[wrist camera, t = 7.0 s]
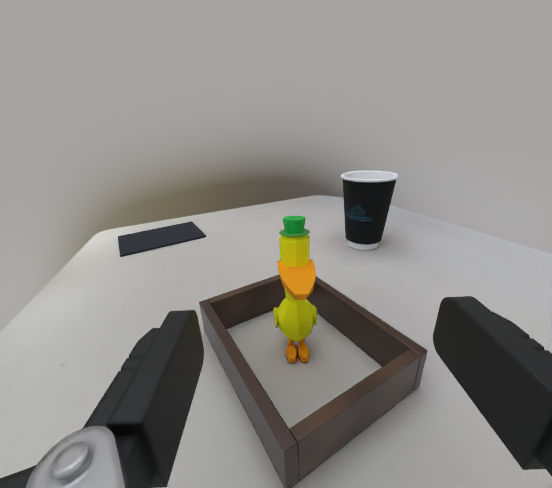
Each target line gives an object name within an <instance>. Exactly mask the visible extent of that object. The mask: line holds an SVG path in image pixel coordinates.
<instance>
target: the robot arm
mask: <svg viewBox="0 0 552 488" xmlns="http://www.w3.org/2000/svg"><path fill="white" fill-rule="evenodd" d="M433 342H434V346H435V349H436V352H437V353H438V355H439V356H440V358H441V359H442V361H443V362H444V363H445V365H446V366H447V367H448V369H449V370H450V371H451V373H452V374H453V375H454V377H455V378H456V379H457V381H458V382H459V384H460V385H461V386H462V388H463V389H464V390H465V392H466V393H467V394H468V396H469V397H470V398H471V400H472V401H473V403H474V404H475V405H476V407H477V408H478V409H479V411H480V412H481V413H482V415H483V416H484V417H485V419H486V420H487V422H488V423H489V424H490V426H491V427H492V428H493V430H494V431H495V432H496V434H497V435H498V436H499V438H500V439H501V441H502V442H503V443H504V445H505V446H506V447H507V449H508V450H509V451H510V453H511V454H512V455H513V457H514V458H515V459H516V461H517V462H518V464H519V465H520V466H521V468H522V469H523V470H528V469H546V470H547V471H548V472H549V473H550V475H551V476H552V353H550V352H549V351H548V350H546V351H545V350H544V347H543V346H542V345H540V344H539V343H538V342H537V341H535V340H534V339H530V337H529V335H528V334H527V333H525V332H524V331H523V330H522V329H520V328H519V327H518V326H517V325H515V324H514V323H513V322H511V321H509V320H507V319H505V318H503V317H502V316H500V315H498V314H496V313H494V312H491V311H490V310H489V309H488V308H486V307H485V306H484V305H483V304H482V303H480V302H479V301H478V300H477V299H475V298H474V297H471V296H465V297H446V298H444V299H443V300H442V301H441V304H440V308H439V312H438V317H437V321H436V325H435V329H434V333H433ZM203 359H204V347H203V342H202V337H201V332H200V327H199V322H198V317H197V313H196V311H195V310H185V311H170V312H169V313H168V315H167V316H166V318H165V320H164V322H163V324H162V325H161V327H160V328H152V329H151V330H150V331H149V332H148V333H147V334H146V335H144V336H143V337H142V338H141V339H140V340H139V341H138V342H137V344H136V345H135V347H134V348H133V350H132V351H131V353H130V355H129V358H127V359H126V361H125V363H124V364H123V366H122V367H121V371H119V372H118V374H117V375H116V377H115V378H114V380H113V381H112V383H111V385H110V386H109V388H108V389H107V391H106V393H105V394H104V396H103V397H102V399H101V400H100V402H99V404H98V405H97V407H96V408H95V410H94V411H93V413H92V415H91V416H90V418H89V419H88V421H87V422H86V424H85V425H84V427H83V428H82V429H80V430H78V431H76V432H74V433H72V434H70V435H69V436H67V437H65V438H64V439H62V440H61V441H60V442H58V443H57V444H56V445H55V446H54V447H52V448H51V449H50V450H49V451H48V452H47V453H46V454H45V455H44V456H43V458H42V459H41V460H40V461H39V463H38V464H37V465H35V466H33V467H31V468H28V469H25V470H23V471H20V472H17V473H14V474H11V475H9V476H6V477H3V478H0V488H157V487H167V484H168V481H169V477H170V474H171V471H172V467H173V464H174V460H175V457H176V454H177V450H178V447H179V444H180V440H181V437H182V433H183V430H184V427H185V423H186V420H187V416H188V413H189V410H190V406H191V403H192V399H193V396H194V393H195V389H196V386H197V383H198V379H199V376H200V372H201V369H202V365H203Z"/></svg>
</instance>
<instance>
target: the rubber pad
mask: <svg viewBox="0 0 552 488" xmlns="http://www.w3.org/2000/svg"><path fill="white" fill-rule="evenodd" d="M203 237H206V235H205V234H204V233H203V232H202V231H201V230H200V229H199V228H198V227H197V226H196V225H195V224H194V223H193V222H187V223H182V224H177V225H172V226H167V227H162V228H157V229H152V230H147V231H142V232H137V233H133V234H128V235H123V236H118V241H119V249H120V256H121V257H122V256H126V255H130V254H134V253H139V252H143V251H147V250H152V249H156V248H160V247H165V246H169V245H173V244H177V243H182V242H186V241H190V240H195V239H199V238H203Z"/></svg>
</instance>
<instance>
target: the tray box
mask: <svg viewBox="0 0 552 488" xmlns="http://www.w3.org/2000/svg"><path fill="white" fill-rule="evenodd" d="M285 298H286V294H285V289H284V287H283V284H282V281H281V278H280V275H276V276H274V277H271V278H268V279H265V280H262V281H259V282H256V283H253V284H250V285H247V286H244V287H241V288H239V289H236V290H233V291H230V292H227V293H224V294H221V295H218V296H215V297H212V298H209V299H208V300H204V301H201V302H199V304H200V310H201V315H202V320H203V325H204V330H205V333H206V335H207V337H208V339H209V341H210V343H211V345H212V347H213V349H214V351H215V353H216V355H217V356H218V358H219V360H220V362H221V364H222V366H223V368H224V370H225V372H226V374H227V376H228V378H229V380H230V382H231V384H232V386H233V388H234V390H235V392H236V394H237V396H238V398H239V399H240V401H241V403H242V405H243V407H244V409H245V411H246V413H247V415H248V417H249V419H250V421H251V423H252V425H253V427H254V429H255V431H256V433H257V435H258V437H259V439H260V440H261V442H262V444H263V446H264V448H265V450H266V452H267V454H268V456H269V458H270V460H271V462H272V464H273V466H274V468H275V470H276V472H277V474H278V476H279V478H280V480H281V482H282V483H283V485H284V487H285V488H291V487H292V486H293V485H295V484H296V483H297V482H298V480H299V481H300V480H301V479H302V478H303V477H305V476H306V475H307V474H308V473H310V472H311V471H312V470H314V469H315V468H316V467H317V466H319V465H320V464H321V463H322V462H324V461H325V460H326V459H328V458H329V457H330V456H331V455H333V454H334V453H335V452H336V451H338V450H339V449H340V448H341V447H343V446H344V445H345V444H347V443H348V442H349V441H350V440H352V439H353V438H354V437H355V436H357V435H358V434H359V433H361V432H362V431H363V430H364V429H366V428H367V427H368V426H369V425H371V424H372V423H373V422H374V421H376V420H377V419H378V418H380V417H381V416H382V415H383V414H385V413H386V412H387V411H388V410H390V409H391V408H392V407H394V406H395V405H396V404H397V403H399V402H400V401H401V400H402V399H404V398H405V397H406V396H407V395H409V394H410V393H411V392H412V391H414V390H415V389H416V388H417V387H419V384H420V380H421V376H422V372H423V368H424V364H425V360H426V355H427V350H426V349H425V348H423V347H422V346H420V345H419V344H417V343H416V342H414V341H413V340H411V339H410V338H408V337H407V336H405V335H403V334H402V333H400V332H399V331H397V330H396V329H394V328H393V327H391V326H390V325H388V324H387V323H385V322H384V321H382V320H381V319H379V318H378V317H376V316H375V315H373V314H372V313H370V312H369V311H367V310H366V309H364V308H363V307H361V306H360V305H358V304H357V303H355V302H354V301H352V300H351V299H349V298H348V297H346V296H345V295H343V294H342V293H340V292H339V291H337V290H336V289H334V288H333V287H331V286H330V285H328V284H327V283H325V282H324V281H322V280H321V279H319V278H318V277H316V278H315V284H314V288H313V292H312V293H311V294H310V295H309V296H308V297H307V298H306V299H307V300H308V301H309V302H310V303H311V304H312V305H314V306H315V307H316V308H317V312H318V313H319V314H320V315H321V316H322V317H324V318H325V319H326V320H327V321H329V322H330V323H331V324H332V325H333V326H335V327H336V328H337V329H338V330H339V331H341V332H342V333H343V334H344V335H345V336H347V337H348V338H349V339H350V340H352V341H353V342H354V343H355V344H356V345H358V346H359V347H360V348H361V349H362V350H364V351H365V352H366V353H367V354H368V355H370V356H371V357H372V358H373V359H374V360H376V361H377V362H378V363H379V364H381V365H382V366H383V367H382V368H380V369H379V370H377V371H376V372H374V373H373V374H371V375H370V376H368V377H367V378H365V379H364V380H362V381H361V382H359V383H358V384H356V385H355V386H353V387H352V388H350V389H349V390H347V391H346V392H344V393H343V394H341V395H340V396H338V397H337V398H335V399H334V400H332V401H331V402H329V403H328V404H326V405H325V406H323V407H322V408H320V409H319V410H317V411H315V412H314V413H312V414H311V415H309V416H308V417H306V418H305V419H303V420H302V421H300V422H299V423H297V424H296V425H294V426H293V427H291V428H290V430H289V428H288V427H287V425H286V424H285V422H284V421H283V419H282V417H281V416H280V414H279V413H278V411H277V409H276V408H275V406H274V405H273V403H272V401H271V400H270V398H269V397H268V395H267V394H266V392H265V390H264V389H263V387H262V386H261V384H260V382H259V381H258V379H257V378H256V376H255V374H254V373H253V371H252V370H251V368H250V366H249V365H248V363H247V362H246V360H245V359H244V357H243V355H242V354H241V352H240V351H239V349H238V347H237V346H236V344H235V343H234V341H233V339H232V338H231V336H230V335H229V333H228V331H227V330H226V328H229V327H231V326H234V325H236V324H239V323H241V322H243V321H246V320H248V319H251V318H253V317H256V316H258V315H261V314H263V313H266V312H268V311H270V310H273V309H274V308H275V307H276V308H278V307H279V306H280V304H281V302H282V301H283V300H284V299H285Z"/></svg>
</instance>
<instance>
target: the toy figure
mask: <svg viewBox="0 0 552 488" xmlns="http://www.w3.org/2000/svg"><path fill="white" fill-rule="evenodd" d="M283 222H284V227H285V229H284V230H281V231H280V234H281V235H282V236H281V237H280V238H279V241H280V261H278V262H277V263H278V271H279V275H280V278H281V281H282V284H283V287H284V289H285V294H286V298H285V299H284V300H283V301H282V302H281V304H280V306H279V308H278V309H277V308H276V307H275V308H274V310H273V311H274V320H275V326H276V328H277V325H278V326H279V328H280V329H281V330H282V332H283V333H284V335H286V336H287V337H288V339H289V343H288V346H287V350H286V356H287V359H288V361H289V363H295V361H296V358H297V350H296V347H295V345H294V343H293V341H297V342H298V341H300V343H298V357H299V359H300V360H301V361H302V363H303V362H308V358H309V349H308V347H307V346H306V345H305V344H304V339H305V338H306V337H307V336H308V335H309V334H310V333H311V331H312V328H313V325H314V324H315V325H316V324H317V308H316V307H315V306H314V305H312V304H311V303H310V302H309V301H308V300H307V299H306V298H307V297H308V296H309V295H310V294H311V293H312V292H313V288H314V284H315V278H316V274H315V266H314V263H313V260H311V259H309V236H308V235H307V234H309V233H310V232H309V230H307V229H304V225H305V217H303V216H288V217H285V218H283Z"/></svg>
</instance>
